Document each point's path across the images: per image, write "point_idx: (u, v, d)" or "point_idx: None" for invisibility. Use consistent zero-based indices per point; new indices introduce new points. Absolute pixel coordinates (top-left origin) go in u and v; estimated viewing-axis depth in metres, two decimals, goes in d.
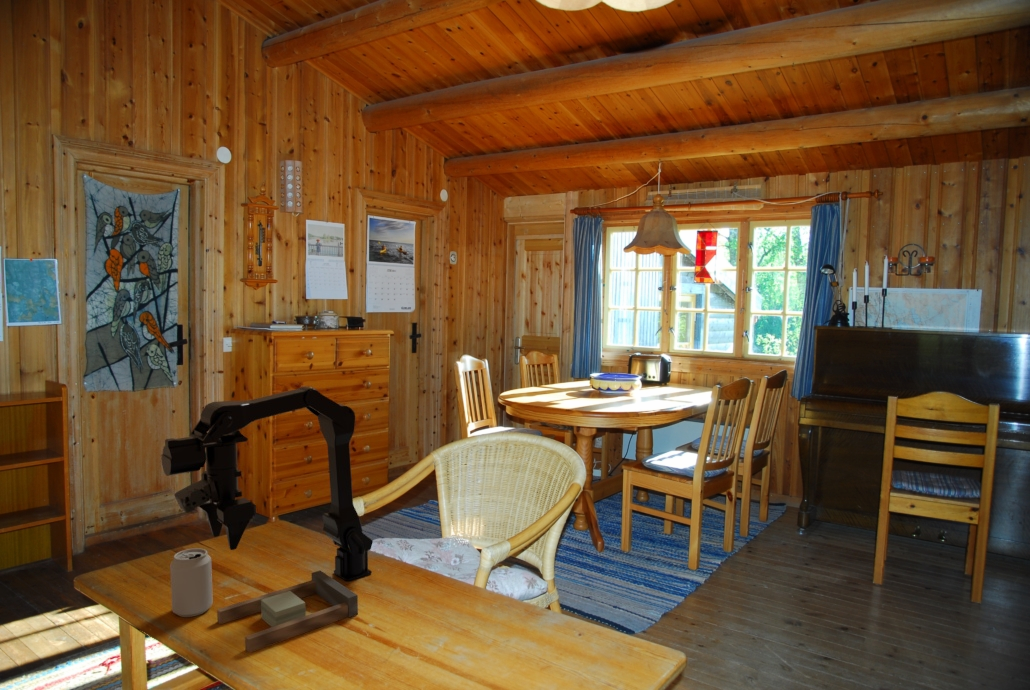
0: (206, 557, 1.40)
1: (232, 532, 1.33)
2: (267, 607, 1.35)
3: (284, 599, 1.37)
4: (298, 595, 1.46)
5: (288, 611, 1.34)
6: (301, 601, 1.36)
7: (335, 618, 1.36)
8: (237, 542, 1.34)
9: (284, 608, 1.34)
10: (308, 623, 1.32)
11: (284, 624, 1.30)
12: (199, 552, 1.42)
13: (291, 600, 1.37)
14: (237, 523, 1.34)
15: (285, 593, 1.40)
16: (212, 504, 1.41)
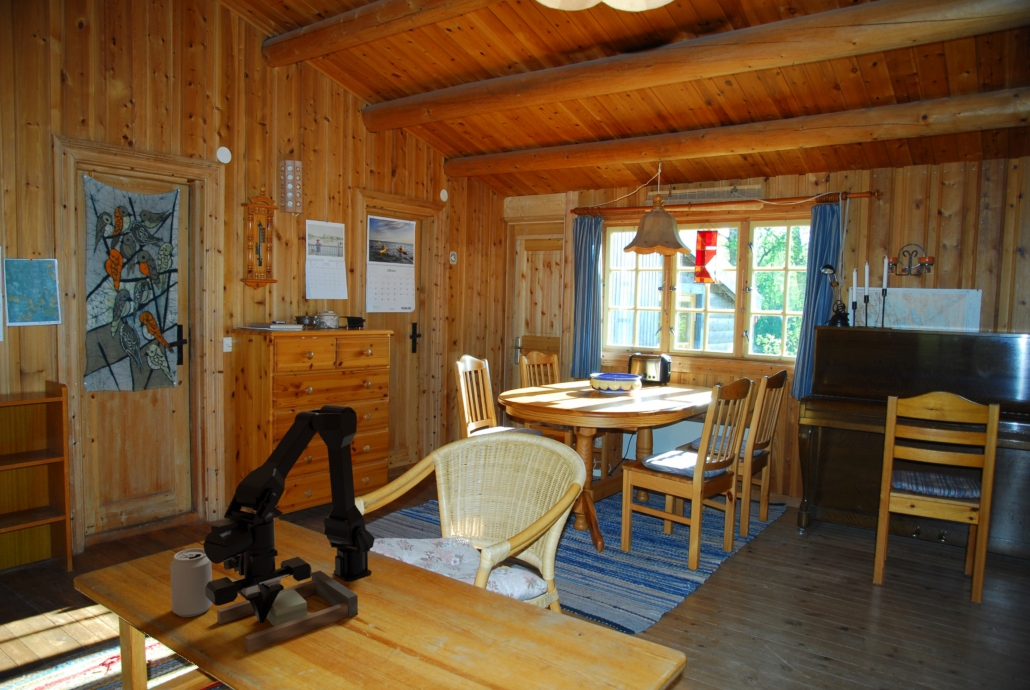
0: (206, 557, 1.40)
1: (252, 604, 1.33)
2: None
3: (287, 598, 1.38)
4: None
5: (289, 610, 1.34)
6: (303, 600, 1.37)
7: (335, 618, 1.36)
8: (258, 617, 1.33)
9: (285, 607, 1.34)
10: (308, 623, 1.32)
11: (284, 624, 1.30)
12: (199, 552, 1.41)
13: (293, 599, 1.37)
14: None
15: (289, 592, 1.40)
16: (263, 587, 1.34)
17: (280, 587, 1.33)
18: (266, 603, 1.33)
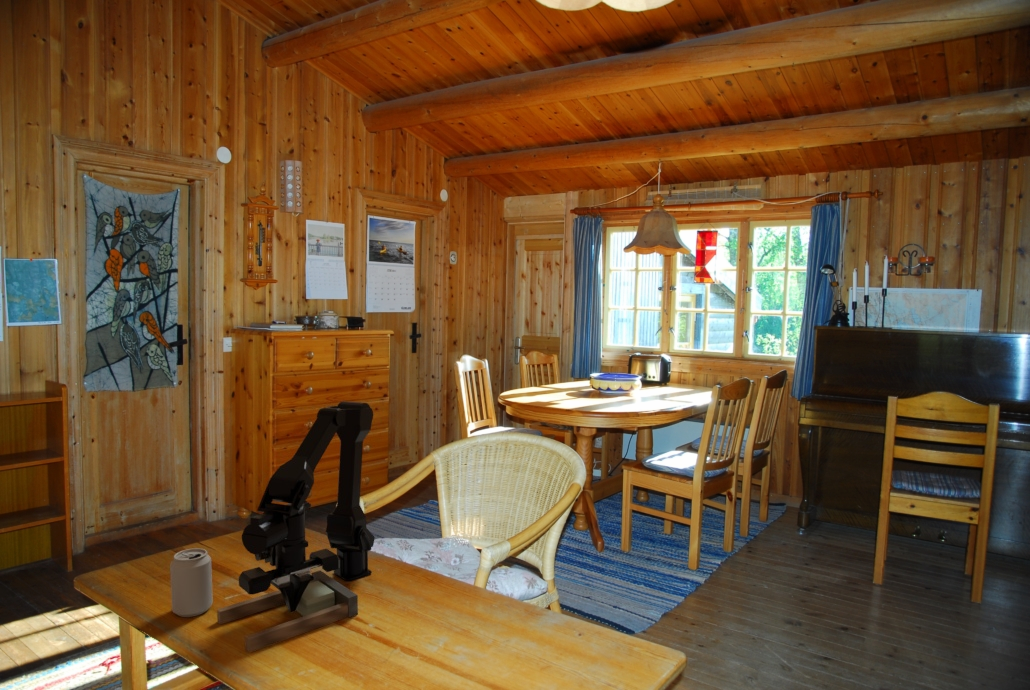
0: (206, 557, 1.40)
1: (283, 594, 1.37)
2: None
3: (313, 588, 1.42)
4: None
5: (318, 600, 1.39)
6: (330, 590, 1.41)
7: (335, 618, 1.36)
8: (289, 607, 1.37)
9: (314, 597, 1.38)
10: (308, 623, 1.32)
11: (284, 624, 1.30)
12: (199, 552, 1.41)
13: (321, 589, 1.42)
14: None
15: (314, 583, 1.45)
16: (293, 577, 1.38)
17: (310, 577, 1.38)
18: (297, 593, 1.37)
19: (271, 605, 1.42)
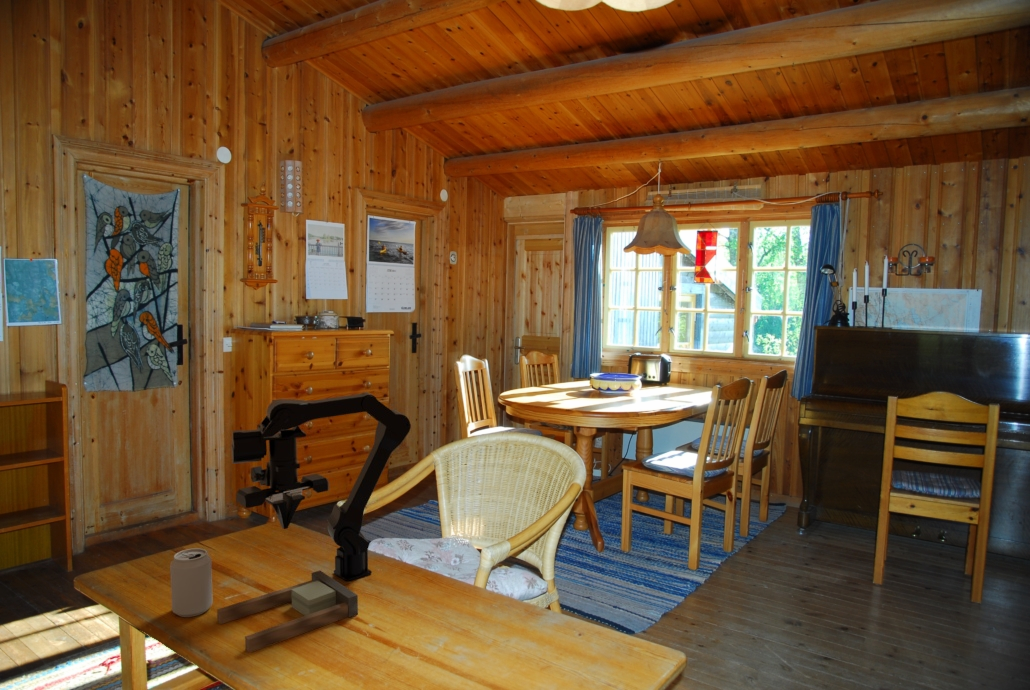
0: (206, 557, 1.40)
1: (277, 512, 1.50)
2: (299, 596, 1.40)
3: (314, 588, 1.42)
4: None
5: (320, 599, 1.39)
6: (331, 589, 1.42)
7: (335, 618, 1.36)
8: (282, 523, 1.50)
9: (316, 596, 1.39)
10: (308, 623, 1.32)
11: (284, 624, 1.30)
12: (199, 552, 1.41)
13: (321, 589, 1.42)
14: None
15: (314, 583, 1.45)
16: (286, 497, 1.51)
17: (302, 497, 1.50)
18: (289, 510, 1.49)
19: (271, 605, 1.42)
